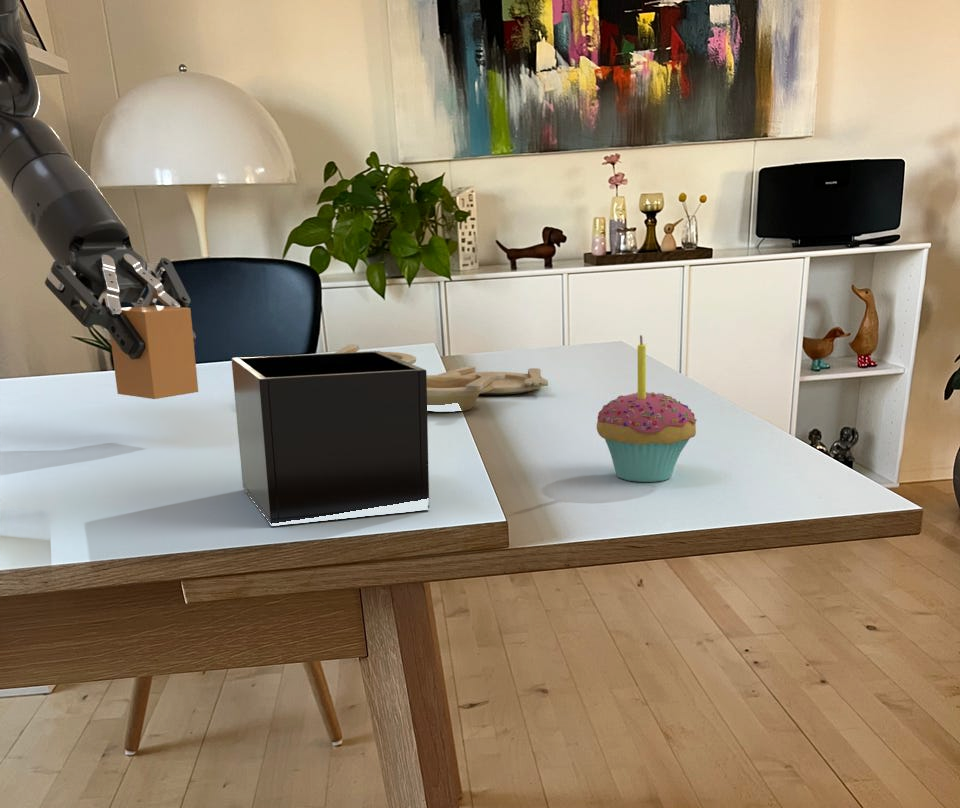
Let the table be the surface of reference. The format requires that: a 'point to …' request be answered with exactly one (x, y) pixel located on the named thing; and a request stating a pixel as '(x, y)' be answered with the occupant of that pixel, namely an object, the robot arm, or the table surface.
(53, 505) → the table surface
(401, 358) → the tableware set
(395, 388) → the trash can
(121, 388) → the tan cardboard block
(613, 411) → the cupcake
